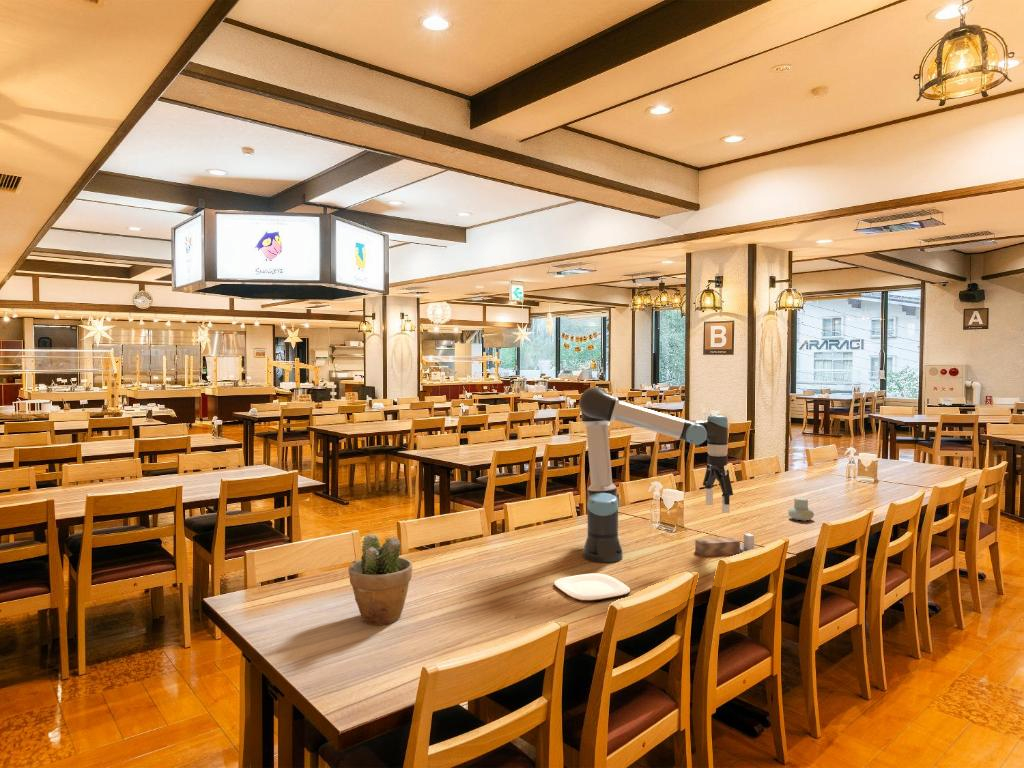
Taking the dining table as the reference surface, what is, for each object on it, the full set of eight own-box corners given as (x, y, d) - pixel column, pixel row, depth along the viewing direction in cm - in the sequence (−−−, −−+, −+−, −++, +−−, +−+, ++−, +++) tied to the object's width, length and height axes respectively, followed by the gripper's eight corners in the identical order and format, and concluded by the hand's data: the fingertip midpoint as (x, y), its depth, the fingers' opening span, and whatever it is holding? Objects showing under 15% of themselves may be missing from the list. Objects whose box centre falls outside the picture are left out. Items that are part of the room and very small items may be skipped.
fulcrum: (745, 554, 244) (745, 537, 244) (735, 548, 252) (735, 532, 252) (762, 553, 245) (762, 537, 245) (751, 547, 253) (752, 531, 252)
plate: (579, 607, 193) (579, 601, 193) (547, 584, 213) (547, 579, 213) (638, 596, 202) (638, 591, 202) (602, 575, 222) (602, 570, 222)
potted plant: (335, 625, 179) (334, 538, 179) (372, 602, 197) (371, 523, 196) (391, 635, 173) (390, 545, 172) (424, 610, 190) (423, 528, 189)
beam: (702, 556, 242) (702, 543, 242) (695, 552, 248) (695, 539, 248) (739, 554, 245) (740, 541, 245) (732, 549, 251) (732, 537, 251)
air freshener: (803, 516, 303) (803, 496, 302) (816, 520, 295) (817, 499, 295) (785, 518, 299) (785, 497, 299) (798, 522, 292) (798, 501, 291)
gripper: (742, 459, 235) (742, 515, 235) (711, 450, 259) (711, 501, 260) (723, 459, 233) (723, 516, 234) (694, 450, 258) (694, 501, 259)
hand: (717, 508), depth 247 cm, fingers open, 13 cm apart
